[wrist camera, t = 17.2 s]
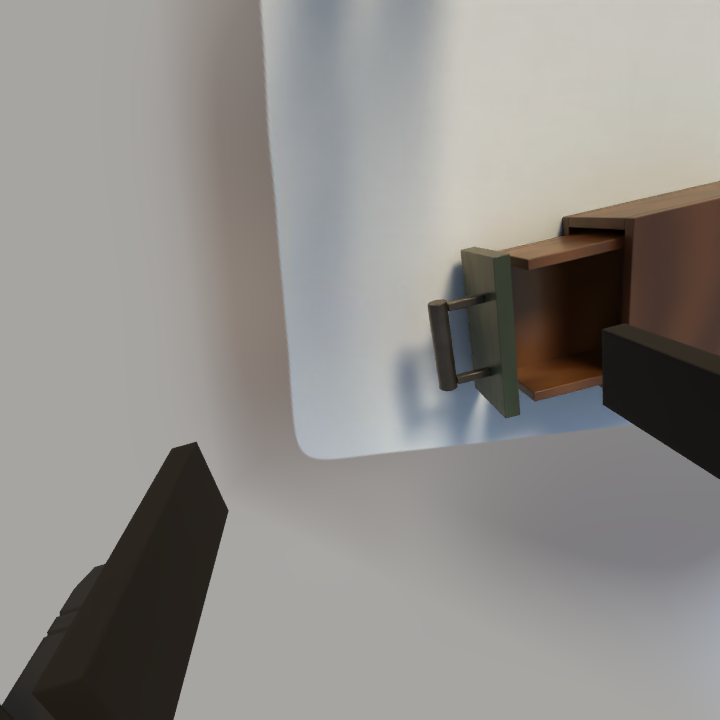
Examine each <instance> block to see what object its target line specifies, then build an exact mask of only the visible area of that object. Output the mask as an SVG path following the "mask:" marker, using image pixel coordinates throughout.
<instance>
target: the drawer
mask: <svg viewBox="0 0 720 720" xmlns="http://www.w3.org/2000/svg"><path fill="white" fill-rule="evenodd" d="M624 247H625V230H617V229H592V230H587V231H583V232H579V233H574V234H570V235H566V236H561V237H557V238H553V239H549V240H544V241H540V242H536V243H531V244H527V245H523V246H518V247H514V248H510V249H506V250H501V251H493V250H488V249H482V248H477V247H472V248H468V249H463V250H461V258H462V267H463V277H464V286H465V295H466V297H465V298H461V299H457V300H452V301H448V302H447V301H446V300H435V301H432V302H429V303H428V312H429V319H430V326H431V333H432V340H433V346H434V353H435V360H436V367H437V374H438V381H439V388H440V389H441V390H443V391H452V390H454V389H456V388H457V383H458V384H461V383H465V382H469V381H473V380H475V388H476V389H477V390H478V391H479V392H480V393H481V394H482V395H483V396H484V397H485V398H486V399H487V400H488V401H489V402H490V403H491V404H492V405H493V406H494V407H495V408H496V409H497V410H498V411H499V412H500V413H501V414H502V415H503V416H504V417H505V418H509V417H513V416H517V415H520V407H519V391H518V388H519V389H520V390H521V391H522V392H524V393H525V394H526V395H527V396H528V397H530V398H531V399H532V400H533V401H538V400H542V399H546V398H550V397H554V396H558V395H562V394H566V393H570V392H574V391H577V390H581V389H585V388H589V387H593V386H597V385H601V384H603V382H602V329H605V328H609V327H613V326H616V325H620V324H621V320H622V295H623V271H624ZM465 307H467V314H468V323H469V333H470V342H471V351H472V360H473V371H469V372H465V373H461V374H457V375H456V370H455V362H454V354H453V346H452V339H451V331H450V323H449V315H448V311H452V310H456V309H460V308H465Z"/></svg>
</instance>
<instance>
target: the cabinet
mask: <svg viewBox="0 0 720 720" xmlns="http://www.w3.org/2000/svg"><path fill="white" fill-rule="evenodd" d="M592 229H617V230H625V247H624V271H623V295H622V320H621V324H623V323H625V324H628V325H631V326H634V327H637V328H640V329H643V330H646V331H649V332H652V333H655V334H658V335H660V336H663V337H666V338H669V339H672V340H675V341H678V342H681V343H684V344H687V345H690V346H693V347H696V348H699V349H702V350H704V351H707V352H710V353H713V354H716V355H719V356H720V181H718V182H714V183H709V184H705V185H700V186H696V187H692V188H687V189H683V190H679V191H674V192H670V193H666V194H661V195H657V196H653V197H648V198H644V199H640V200H635V201H631V202H626V203H622V204H618V205H613V206H609V207H605V208H600V209H596V210H592V211H587V212H583V213H579V214H574V215H570V216H565V217H563V236H566V235H570V234H574V233H579V232H583V231H587V230H592ZM598 386H600V387H602V388H603V384H601V385H598Z"/></svg>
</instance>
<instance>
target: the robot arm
mask: <svg viewBox="0 0 720 720" xmlns="http://www.w3.org/2000/svg"><path fill="white" fill-rule="evenodd" d="M602 382H603V405H604V406H606V407H607V408H609V409H611V410H612V411H614V412H615V413H617V414H618V415H620V416H622V417H623V418H625V419H626V420H628V421H629V422H631V423H632V424H634V425H636V426H637V427H639V428H640V429H642V430H644V431H645V432H647V433H648V434H650V435H651V436H653V437H654V438H656V439H657V440H659V441H661V442H662V443H664V444H665V445H667V446H669V447H670V448H671V449H673V450H675V451H676V452H678V453H679V454H681V455H682V456H684V457H686V458H687V459H689V460H690V461H692V462H693V463H695V464H696V465H698V466H700V467H701V468H703V469H704V470H706V471H708V472H709V473H711V474H712V475H714V476H715V477H717V478H718V479H720V356H719V355H716V354H713V353H710V352H707V351H704V350H702V349H699V348H696V347H693V346H690V345H687V344H684V343H681V342H678V341H675V340H672V339H669V338H666V337H663V336H660V335H658V334H655V333H652V332H649V331H646V330H643V329H640V328H637V327H634V326H631V325H628V324H625V323H623V324H620V325H616V326H613V327H609V328H605V329H602ZM227 514H228V509H227V507H226V504H225V502H224V500H223V498H222V496H221V494H220V491H219V489H218V487H217V485H216V483H215V481H214V479H213V476H212V474H211V472H210V470H209V468H208V466H207V463H206V461H205V459H204V457H203V455H202V453H201V451H200V448H199V446H198V444H197V442H194V443H190V444H187V445H183V446H180V447H176V448H173V449H171V451H170V453H169V455H168V456H167V458H166V460H165V461H164V463H163V465H162V467H161V469H160V470H159V472H158V474H157V475H156V477H155V479H154V481H153V482H152V484H151V486H150V488H149V489H148V491H147V493H146V495H145V496H144V498H143V500H142V501H141V503H140V505H139V507H138V508H137V510H136V512H135V514H134V515H133V517H132V519H131V521H130V522H129V524H128V526H127V528H126V529H125V531H124V533H123V535H122V536H121V538H120V540H119V541H118V543H117V545H116V547H115V549H114V550H113V552H112V554H111V555H110V558H109V559H108V561H107V562H106V564H104V565H100V566H97V567H94V569H93V570H92V571H91V572H90V573H89V574H88V575H87V576H86V577H85V578H84V579H83V580H82V581H81V582H80V583H79V584H78V585H77V587H76V588H75V589H74V590H73V592H72V593H71V595H70V597H69V598H68V600H67V601H66V603H65V604H64V606H63V608H62V609H61V611H60V616H59V617H56V619H55V620H54V622H53V624H52V625H51V627H50V629H49V630H48V632H47V633H48V635H47V637H44V638H43V640H42V642H41V643H40V645H39V646H38V648H37V650H36V651H35V653H34V654H33V656H32V658H31V659H30V661H29V662H28V664H27V666H26V667H25V669H24V670H23V672H22V674H21V675H20V677H19V678H18V680H17V682H16V683H15V685H14V687H13V688H12V690H11V691H10V693H9V695H8V696H7V698H6V699H5V701H4V703H3V704H2V706H1V705H0V720H173V719H174V716H175V712H176V708H177V704H178V700H179V696H180V693H181V689H182V685H183V681H184V677H185V674H186V670H187V666H188V662H189V658H190V655H191V651H192V647H193V643H194V640H195V636H196V632H197V628H198V624H199V621H200V617H201V613H202V609H203V605H204V601H205V598H206V594H207V590H208V586H209V583H210V579H211V575H212V571H213V568H214V564H215V560H216V556H217V552H218V549H219V544H220V541H221V537H222V533H223V530H224V525H225V522H226V518H227Z"/></svg>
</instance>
